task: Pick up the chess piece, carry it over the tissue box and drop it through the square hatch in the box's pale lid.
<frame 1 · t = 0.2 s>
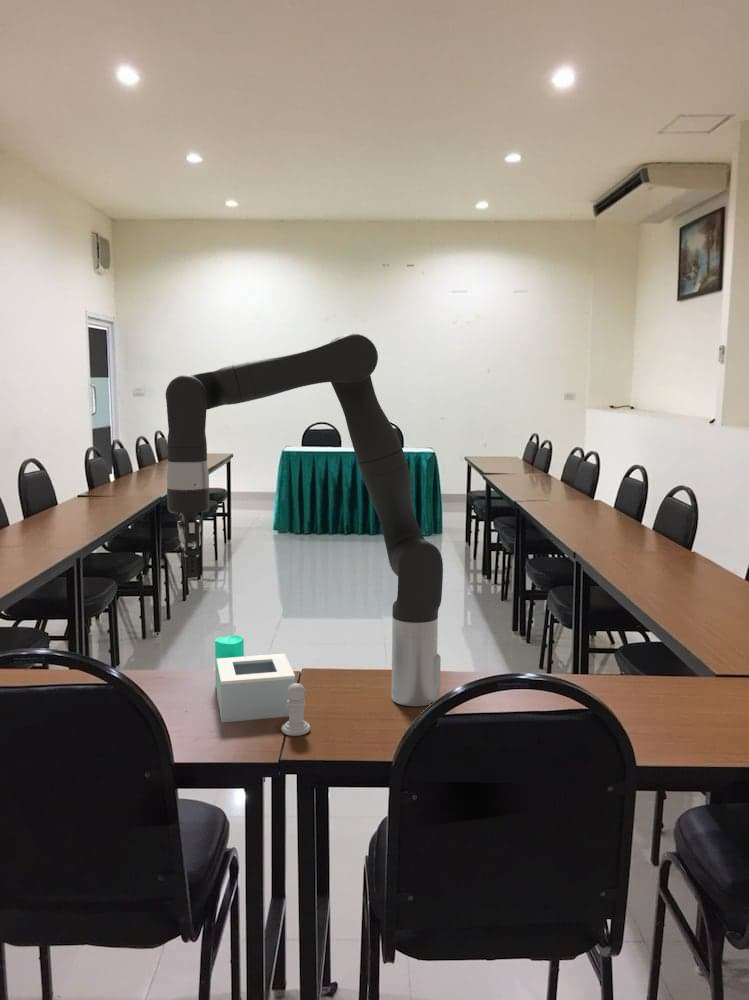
hand: (190, 572, 144), 28 cm above the table, fingers open, 8 cm apart
chess piece: (295, 731, 143), on the table
candle: (229, 687, 165), on the table
tissue box: (254, 705, 155), on the table
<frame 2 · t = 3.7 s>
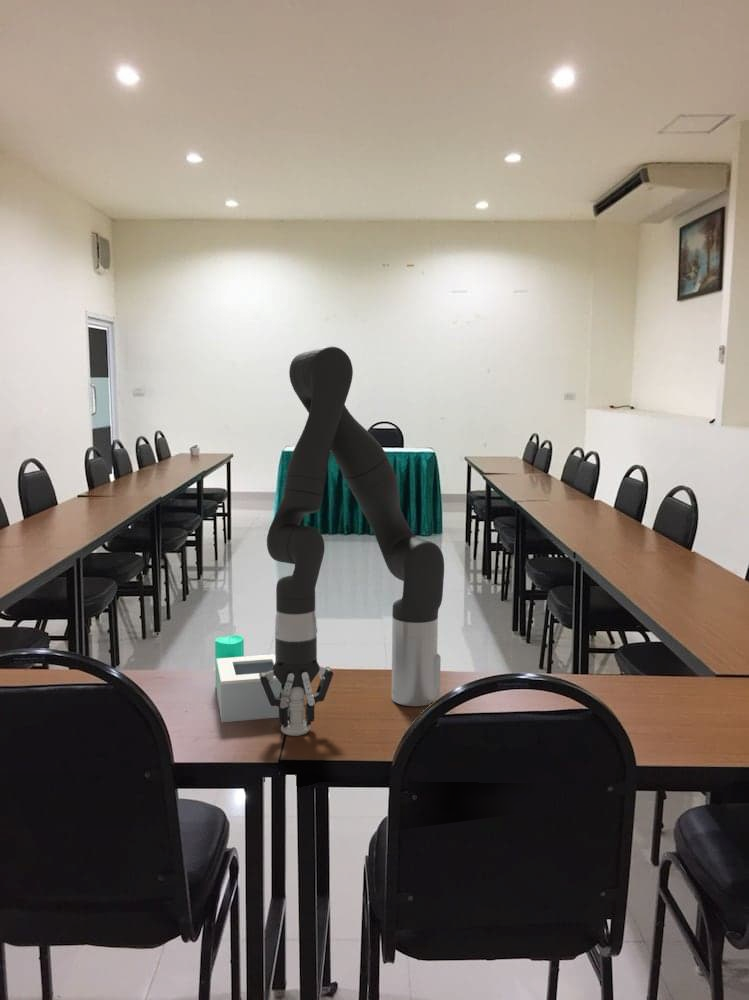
hand: (296, 724, 143), 1 cm above the table, fingers closed on chess piece, 3 cm apart
chess piece: (295, 731, 143), on the table, touching gripper
everything else where it was.
when the fingers open (11 cm above the table, at t = 7.4 s): chess piece drops 9 cm, resting on tissue box.
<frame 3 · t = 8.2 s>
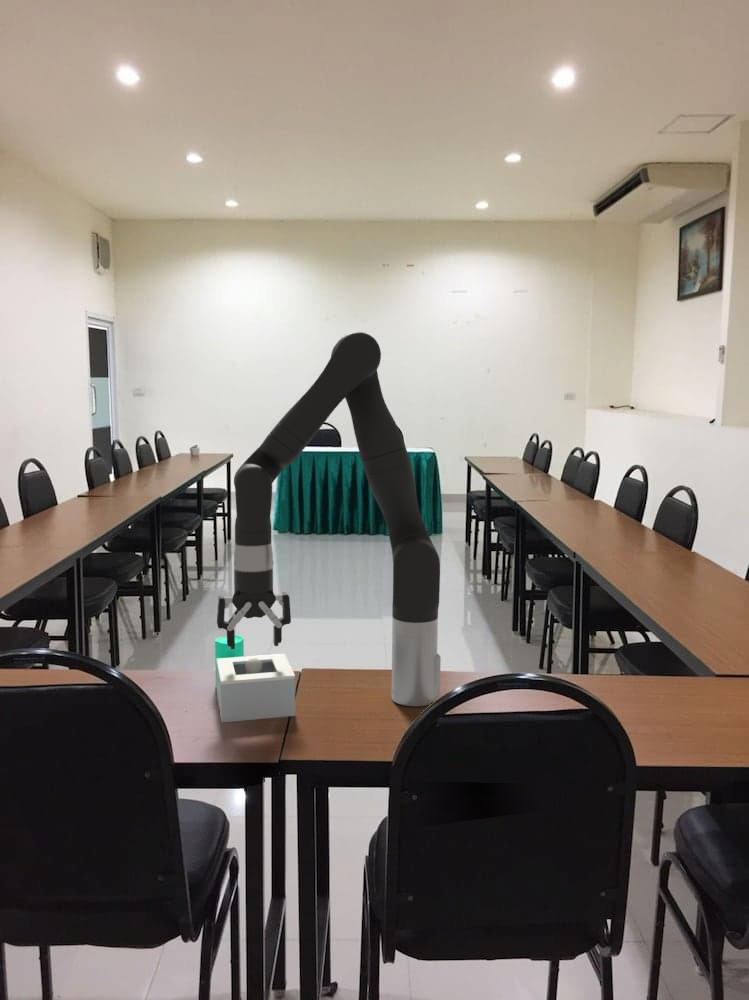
hand: (254, 646, 153), 12 cm above the table, fingers open, 8 cm apart
chess piece: (253, 703, 154), resting on tissue box
everything else where it was.
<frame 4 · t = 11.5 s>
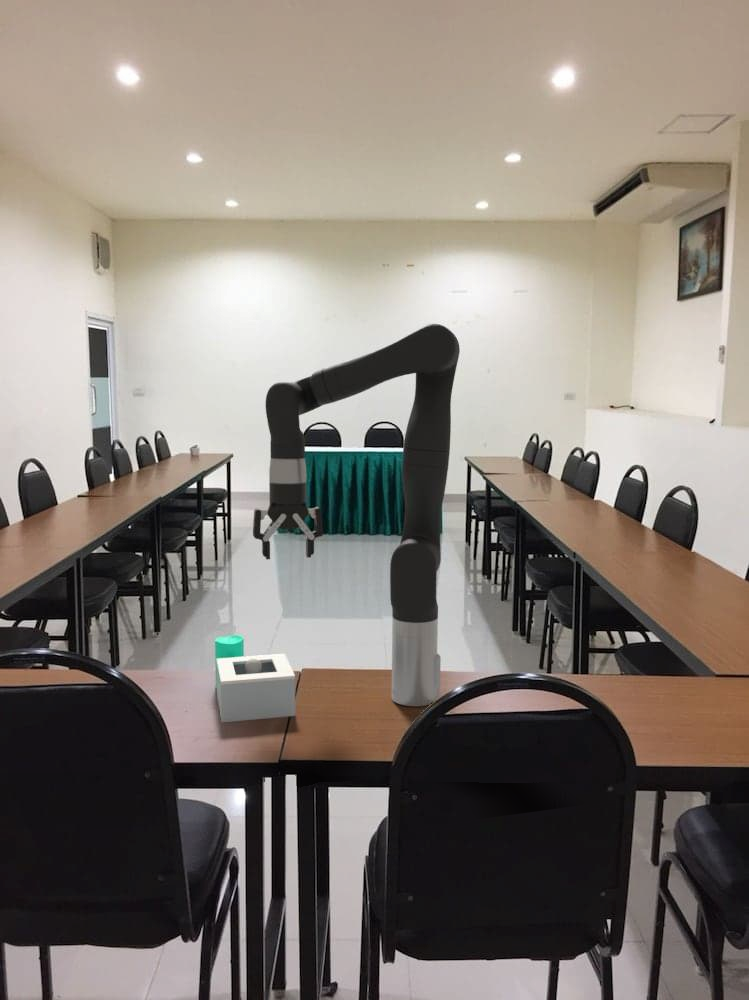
hand: (288, 557, 161), 28 cm above the table, fingers open, 8 cm apart
nothing on the table moved.
at the end: chess piece inside the target area on the tissue box (0.3 cm from its centre), point 0.4 cm above the tissue box's base; the gripper is holding nothing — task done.
